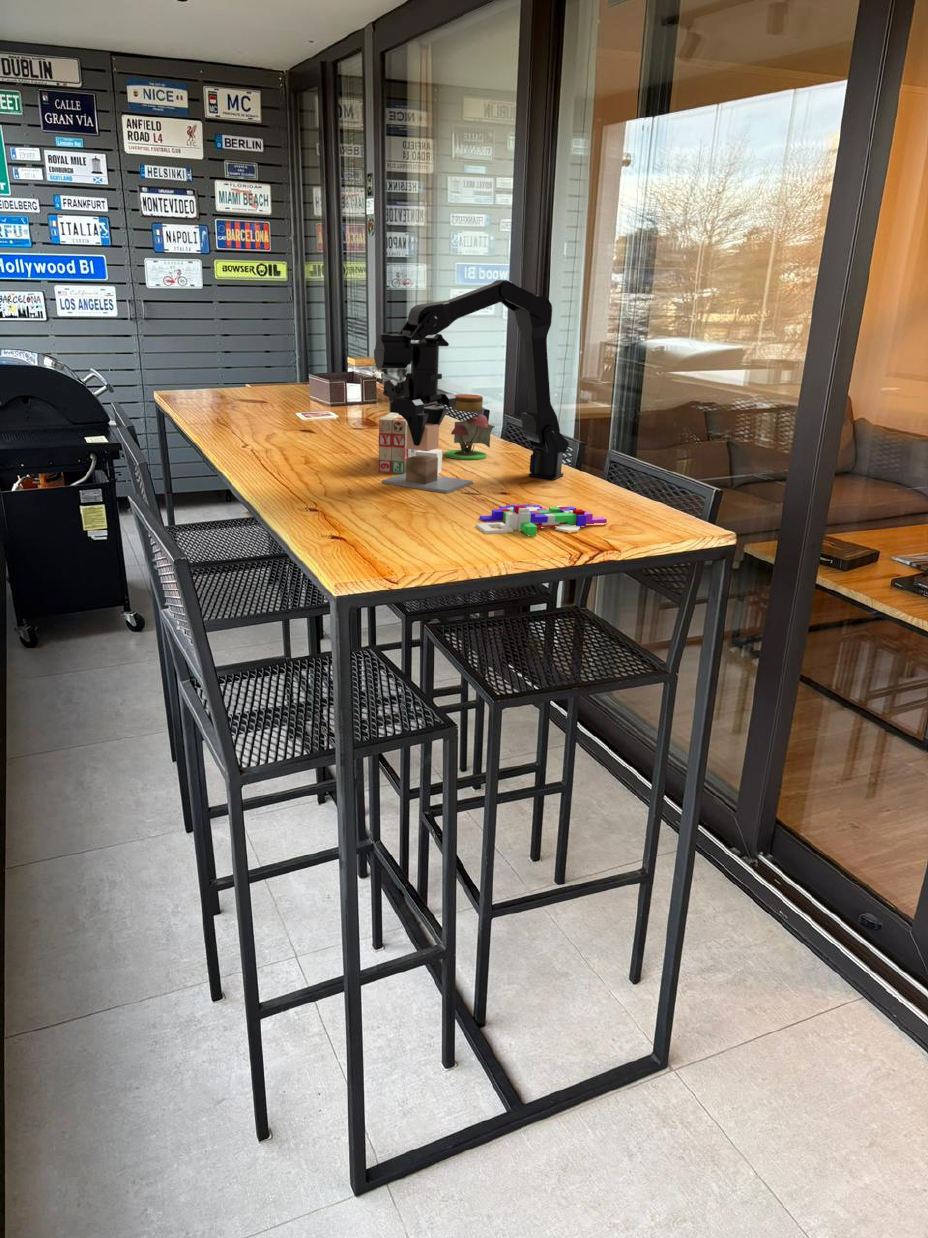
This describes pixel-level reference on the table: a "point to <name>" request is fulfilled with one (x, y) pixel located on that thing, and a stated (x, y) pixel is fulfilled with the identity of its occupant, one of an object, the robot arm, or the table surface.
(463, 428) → the plant figurine
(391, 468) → the stack of blocks
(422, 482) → the walnut brick
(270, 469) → the table surface
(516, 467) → the table surface
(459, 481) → the plate
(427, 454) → the offwhite brick
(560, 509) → the building block set
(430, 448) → the terracotta brick
